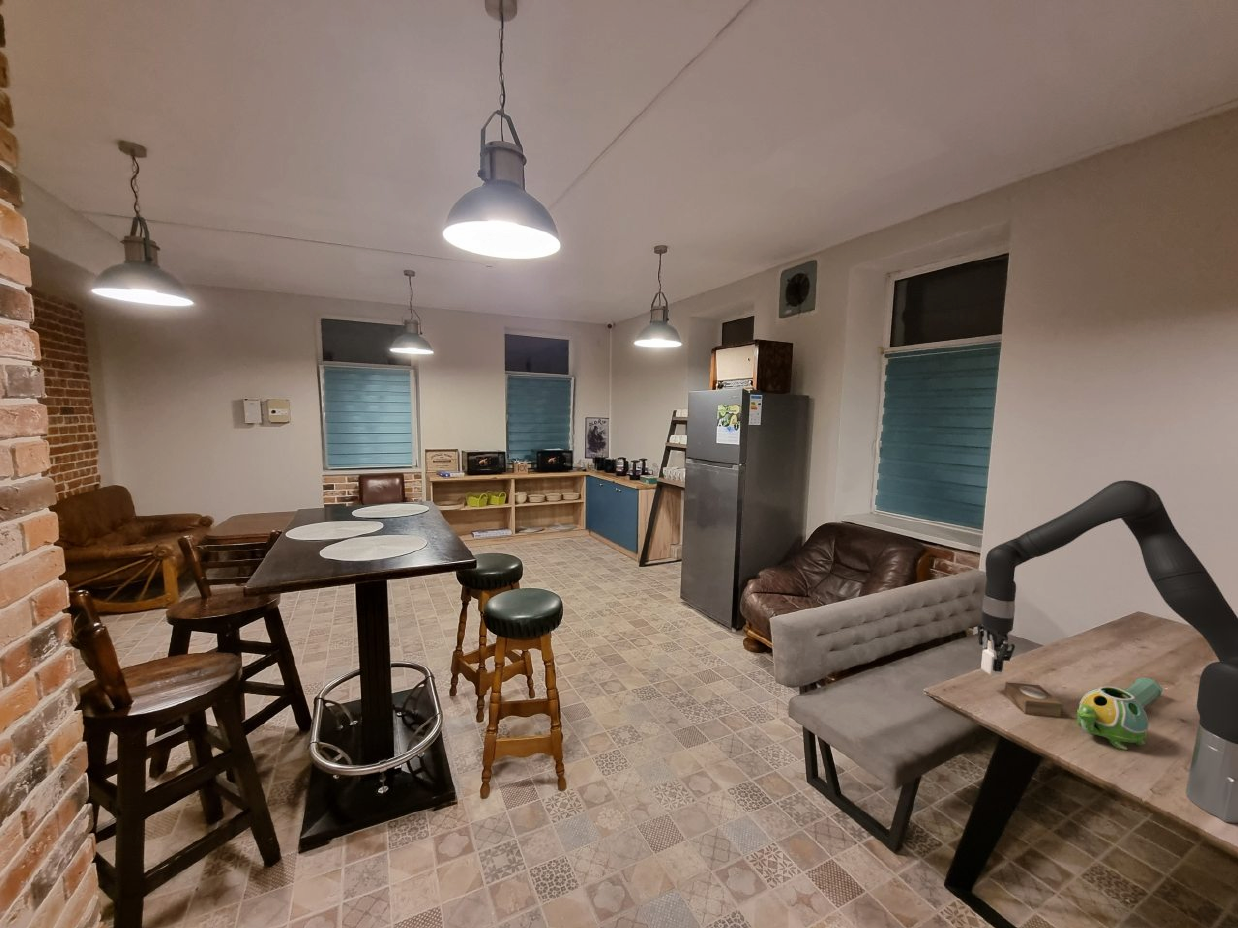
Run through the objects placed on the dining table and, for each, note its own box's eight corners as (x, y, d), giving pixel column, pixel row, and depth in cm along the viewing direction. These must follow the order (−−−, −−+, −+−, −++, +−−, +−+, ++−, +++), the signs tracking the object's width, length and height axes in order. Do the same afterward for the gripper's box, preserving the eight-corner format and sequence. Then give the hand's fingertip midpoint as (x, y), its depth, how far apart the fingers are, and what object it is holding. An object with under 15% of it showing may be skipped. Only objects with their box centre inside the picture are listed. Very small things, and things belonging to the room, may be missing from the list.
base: (1060, 716, 136) (1062, 703, 135) (1024, 713, 137) (1026, 699, 136) (1036, 697, 145) (1038, 684, 144) (1003, 694, 146) (1005, 681, 145)
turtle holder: (1050, 724, 133) (1056, 683, 131) (1102, 716, 137) (1108, 676, 135) (1103, 756, 121) (1110, 712, 119) (1158, 747, 125) (1166, 704, 123)
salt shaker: (992, 668, 148) (995, 638, 147) (1003, 675, 145) (1006, 645, 143) (979, 668, 148) (982, 638, 147) (990, 675, 144) (993, 645, 143)
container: (1126, 703, 133) (1158, 678, 145) (1098, 700, 138) (1131, 675, 150) (1134, 726, 132) (1166, 699, 144) (1106, 722, 137) (1139, 696, 149)
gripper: (1028, 623, 137) (1022, 680, 139) (996, 602, 151) (990, 655, 153) (999, 621, 138) (993, 678, 140) (970, 601, 152) (964, 653, 154)
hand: (991, 666), depth 146 cm, fingers closed on salt shaker, 4 cm apart
